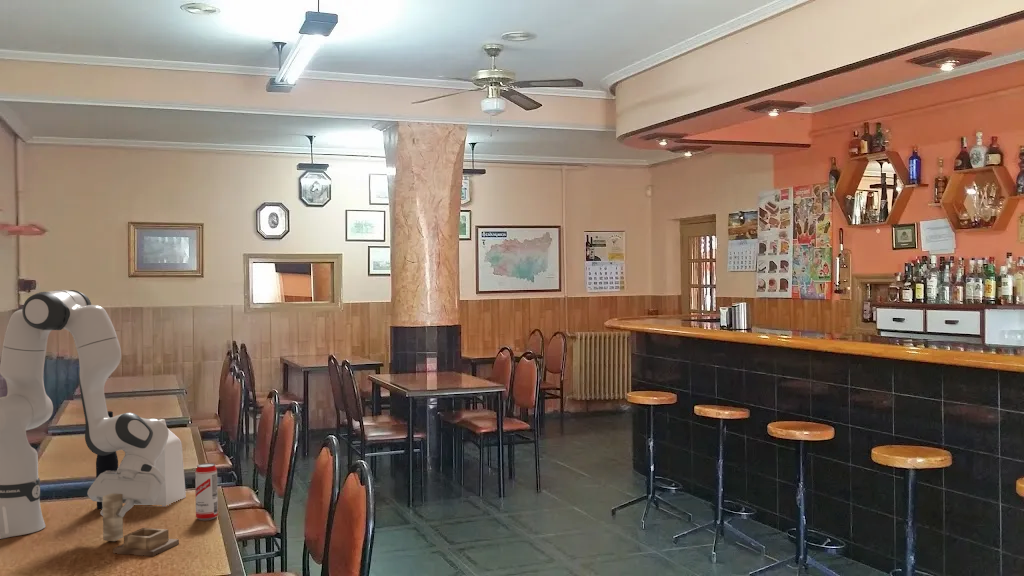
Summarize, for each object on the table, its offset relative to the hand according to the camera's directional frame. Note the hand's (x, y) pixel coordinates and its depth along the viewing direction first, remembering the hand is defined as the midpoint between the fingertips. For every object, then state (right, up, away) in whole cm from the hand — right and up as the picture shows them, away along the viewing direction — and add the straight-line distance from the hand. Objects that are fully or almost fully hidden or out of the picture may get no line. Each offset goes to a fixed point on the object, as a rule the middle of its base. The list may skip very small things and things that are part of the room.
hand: (111, 515), depth 247 cm
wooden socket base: (+12, -7, -6) cm, 15 cm away
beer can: (+18, -7, +24) cm, 30 cm away
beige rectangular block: (0, -7, +1) cm, 7 cm away
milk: (-4, -7, +45) cm, 46 cm away
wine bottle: (-18, -7, +38) cm, 43 cm away
